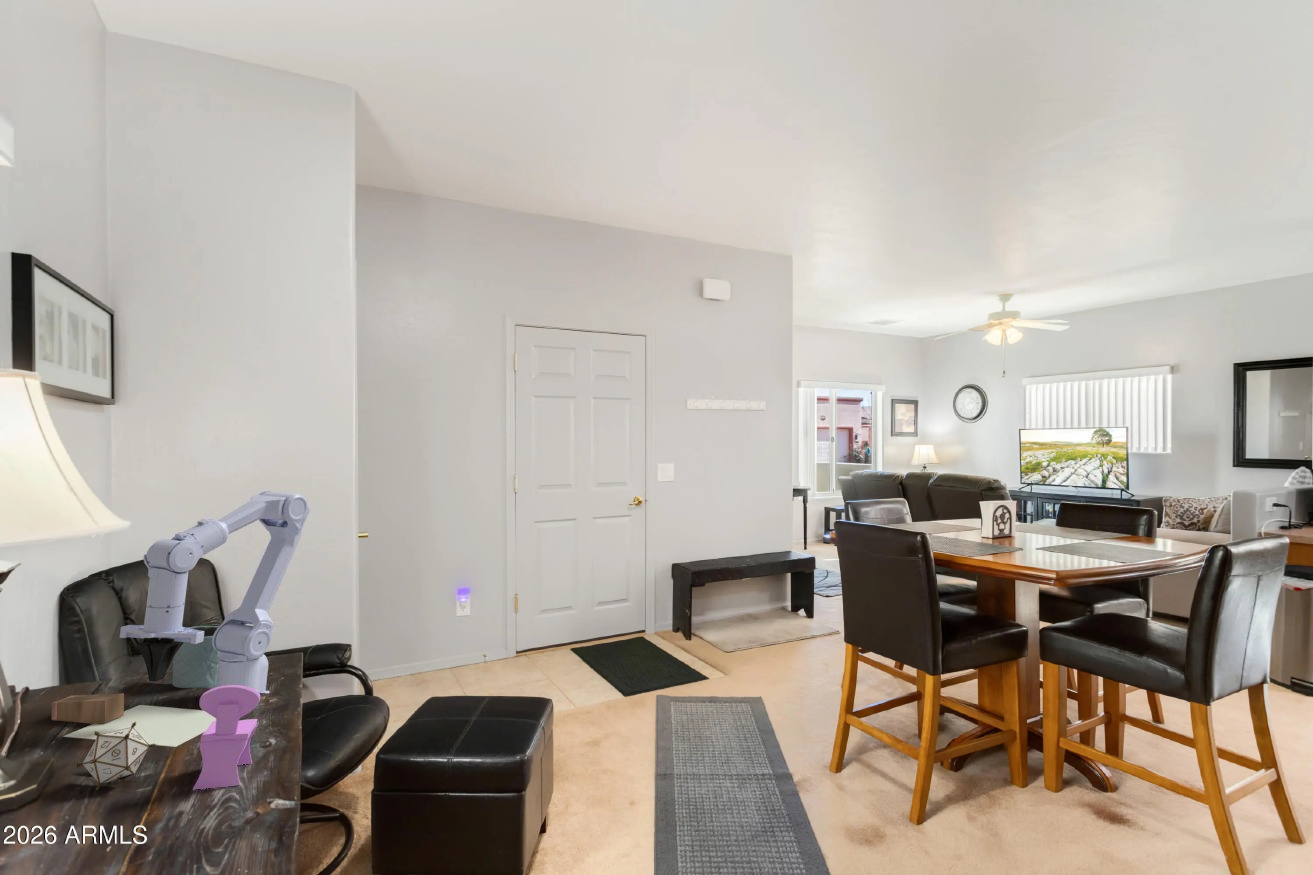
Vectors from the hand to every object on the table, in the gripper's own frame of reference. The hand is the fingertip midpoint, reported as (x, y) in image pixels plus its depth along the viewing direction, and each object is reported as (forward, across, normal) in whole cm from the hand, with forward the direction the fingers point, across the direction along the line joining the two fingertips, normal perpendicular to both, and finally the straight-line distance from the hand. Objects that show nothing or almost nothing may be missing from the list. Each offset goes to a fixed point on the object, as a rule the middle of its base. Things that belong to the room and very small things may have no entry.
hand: (156, 679), depth 120 cm
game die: (+9, +10, -19) cm, 23 cm away
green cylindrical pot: (+9, -9, +23) cm, 26 cm away
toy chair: (+9, +24, -14) cm, 29 cm away
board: (+9, +1, 0) cm, 9 cm away
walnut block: (+6, -7, 0) cm, 9 cm away
